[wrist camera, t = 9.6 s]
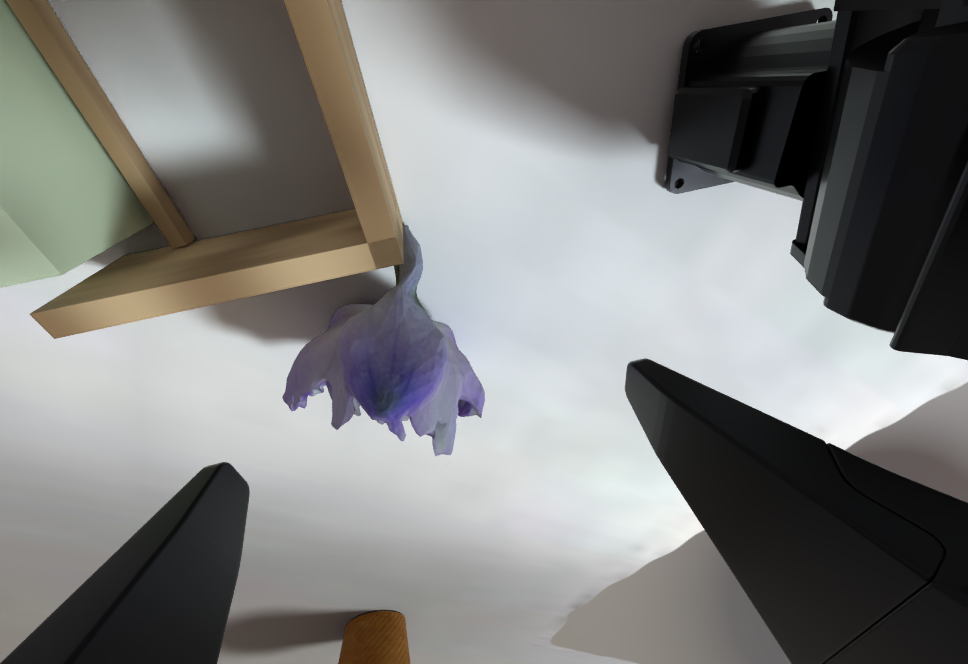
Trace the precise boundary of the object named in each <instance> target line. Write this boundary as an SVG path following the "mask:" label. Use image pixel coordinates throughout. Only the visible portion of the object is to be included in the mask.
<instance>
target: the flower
mask: <svg viewBox="0 0 968 664" xmlns="http://www.w3.org/2000/svg"><path fill="white" fill-rule="evenodd" d="M403 253H404V264H399V265H394V269H395V274H396V286H395V287H394V288H392V289H391V290H389V291H388V292H387V293H386V294H385V295H384V296H383V297H382V298H381V299H380V300H379V301H378V302H377V303H376V304H374V305H370V304H348V305H345V306H343V307H340V308H339V309H338V310H337V311H336V312H335V313H334V315H333V316H332V318H331V320H330V322H329V326H328V330H327V331H326V332H325V333H323V334H322V335H320V336H318V337H316V338H315V339H313V340H312V341H310V342H309V343H308V344H306V345H305V347H304V348H303V349H302V350H301V351H300V352H299V354H298V356H297V358H296V359H295V361H294V363H293V366H292V368H291V370H290V373H289V375H288V377H287V383H286V391H285V393H284V395H283V397H282V398H283V400H284V402H285V403H286V404H287V405H288V406H289V408H290V410H291V411H295V410H296V409H297V408H298V407H299V406H300V407H302V408H305V407H306V405H307V397H308V395H310V396H314V395H316V394H319V393H322V392H323V391H324V389H323V386H325V385H327V388H328V391H329V393H330V396H331V399H332V423H331V424H332V426H333V427H334V428H335V429H337V430H338V429H339V428H340V427H341V426H342V425H343V424H345V423H346V422H348V421H349V420H350V419H351V417H352V416H353V414H355V415H357V416H360V415H361V413H360V408H359V407H360V405H361V406H362V408H363V409H364V410H365V411H366V413H367V414H368V415H369V416H370V417H371V419H372V420H377V422H378V423H380V424H384V423H387V425H388V427H389V430H390V431H391V432H393V433H394V434H396V435H397V436H398V438H399V439H400V440H401V441H404V439H405V436H406V434H405V431H404V428H403V424H402V421H407V420H408V419H409V418H410V421H411V424H412V427H413V428H414V430H415V432H416V433H417V434H418V435H419V436H420V437H421V436H423V435H425V434H426V435H429V436H431V437H432V438H433V441H432V443H433V449H434V453H435V456H437V455H440V454H446V455H451V453H452V450H453V445H454V439H455V432H456V418H457V415H459V416H460V417H465V416H473V415H477V416H479V417H480V418H481V416H482V410H483V406H484V401H485V393H484V389H483V387H482V384H481V383H480V381H479V379H478V378H477V376H476V374H475V373H474V371H473V369H472V367H471V365H470V363H469V361H468V360H467V358H466V357H465V356H464V355H463V353H462V352H461V351H460V350H459V349H458V347H457V345H456V341H455V338H454V334H453V332H452V330H451V328H450V327H449V326H448V325H446V324H444V323H440V322H436V321H433V320H431V319H430V317H429V316H428V314H427V313H426V311H425V310H424V308H423V307H422V305H421V304H420V303H419V300H418V298H417V294H416V289H417V284H418V282H419V280H420V278H421V274H422V270H423V261H422V254H421V248H420V244H419V243H418V242H417V240H416V239H415V238H414V236H413V235H412V233H411V231H410V230H409V227H408V226H407V225H404V226H403ZM447 465H448V464H447Z"/></svg>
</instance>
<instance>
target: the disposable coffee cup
mask: <svg viewBox="0 0 968 664" xmlns="http://www.w3.org/2000/svg"><path fill="white" fill-rule="evenodd" d="M338 664H410V657H409V649H408V640H407V631H406V623H405V617H404V616H403V615H402V614H400V613H398V612H393V611H377V612H372V613H366V614H364V615H361V616H359V617H357V618H355V619H353V620H351V621H350V622H349V623H348V624H347V625H346V628H345V633H344V638H343V643H342V648H341V653H340V658H339V663H338Z"/></svg>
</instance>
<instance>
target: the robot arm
mask: <svg viewBox="0 0 968 664" xmlns="http://www.w3.org/2000/svg"><path fill="white" fill-rule="evenodd" d="M834 11H838V13H837V19H836V20H835V21H832V16H833V15H832V11H831V10H830V8H822V9H816V10H811V11H805V12H800V13H794V14H789V15H783V16H777V17H772V18H766V19H761V20H755V21H750V22H744V23H739V24H733V25H727V26H722V27H716V28H711V29H705V30H700V31H695V32H693V33H691V34H690V35H689V36H688V37H687V39H686V41H685V43H684V46H683V52H682V60H681V67H680V75H679V83H678V90H677V94H676V96H675V103H674V111H673V118H672V126H671V134H670V142H669V149H668V154H669V159H668V167H667V174H666V182H665V187H666V189H667V191H669V192H671V193H674V194H679V193H684V192H688V191H693V190H698V189H702V188H707V187H712V186H716V185H721V184H726V183H730V182H739V183H742V184H746V185H749V186H753V187H756V188H759V189H763V190H766V191H770V192H773V193H777V194H780V195H784V196H787V197H791V198H794V199H798V200H801V201H803V203H802V209H801V214H800V220H799V225H798V230H797V236H796V239H795V240H793V241H792V246H791V252H790V254H791V255H792V256H793V257H794V258H795V259H796V260H797V261H798V262H799V263H800V264H801V265H802V266H803V267H804V268H805V273H806V279H807V280H808V281H809V282H810V283H811V284H812V285H813V286H814V287H815V288H816V290H817V291H818V292H819V293H820V294H821V295H823V296H824V297H825V298H824V305H825V306H826V307H827V308H828V309H830V310H832V311H834V312H836V313H838V314H840V315H842V316H844V317H846V318H848V319H850V320H852V321H854V322H857V323H860V324H863V325H866V326H869V327H871V328H874V329H877V330H881V331H885V332H890V333H894V336H893V338H892V340H891V343H890V347H891V348H893V349H894V350H897V351H903V352H913V353H923V354H933V355H943V356H950V357H955V358H960V359H965V360H968V0H835V6H834ZM817 20H818V23H816V22H817ZM697 40H699V41H700V46H699V49H698V50H697V52H696V51H695V43H696V42H697ZM677 179H679V183H678V184H677V186H675V182H676V181H677ZM625 392H626V395H627V398H628V400H629V402H630V404H631V406H632V408H633V410H634V412H635V414H636V416H637V418H638V420H639V422H640V424H641V426H642V428H643V430H644V432H645V434H646V436H647V438H648V440H649V442H650V444H651V446H652V447H653V449H654V451H655V453H656V455H657V457H658V458H659V460H660V461H661V463H662V465H663V466H664V468H665V469H666V471H667V472H668V474H669V475H670V477H671V479H672V480H673V482H674V483H675V485H676V486H677V488H678V489H679V491H680V492H681V494H682V496H683V497H684V499H685V500H686V502H687V503H688V505H689V506H690V508H691V509H692V511H693V512H694V514H695V516H696V517H697V519H698V520H699V522H700V523H701V525H702V526H703V528H704V529H705V531H706V532H707V534H708V535H709V537H710V539H711V540H712V542H713V543H714V545H715V546H716V548H717V550H718V551H719V553H720V554H721V556H722V557H723V559H724V560H725V562H726V563H727V565H728V566H729V568H730V569H731V571H732V573H733V574H734V576H735V577H736V579H737V580H738V582H739V583H740V585H741V587H742V588H743V589H744V591H745V593H746V594H747V596H748V597H749V599H750V600H751V602H752V603H753V605H754V607H755V608H756V610H757V611H758V613H759V614H760V616H761V617H762V619H763V620H764V622H765V624H766V625H767V627H768V628H769V630H770V631H771V633H772V634H773V636H774V637H775V639H776V640H777V642H778V644H779V645H780V647H781V648H782V650H783V651H784V653H785V654H786V656H787V658H788V659H789V661H790V662H791V664H968V503H967V502H965V501H962V500H960V499H957V498H955V497H952V496H950V495H947V494H944V493H942V492H940V491H937V490H935V489H932V488H930V487H928V486H925V485H923V484H920V483H918V482H916V481H913V480H911V479H908V478H906V477H904V476H901V475H899V474H896V473H894V472H892V471H890V470H887V469H885V468H883V467H880V466H878V465H876V464H874V463H872V462H869V461H867V460H865V459H863V458H861V457H858V456H856V455H854V454H852V453H849V452H847V451H845V450H843V449H841V448H839V447H837V446H835V445H832V444H830V443H828V444H826V443H825V441H823V440H821V439H819V438H817V437H815V436H813V435H811V434H808V433H806V432H804V431H802V430H800V429H798V428H796V427H793V426H791V425H789V424H787V423H785V422H783V421H781V420H778V419H776V418H774V417H772V416H770V415H768V414H765V413H763V412H761V411H759V410H757V409H755V408H753V407H750V406H748V405H746V404H744V403H742V402H740V401H738V400H735V399H733V398H731V397H729V396H727V395H725V394H723V393H720V392H718V391H716V390H714V389H712V388H710V387H707V386H705V385H703V384H701V383H699V382H697V381H695V380H692V379H690V378H688V377H686V376H684V375H682V374H680V373H677V372H675V371H673V370H671V369H669V368H667V367H665V366H662V365H660V364H658V363H656V362H654V361H652V360H649V359H640V360H636V361H632V362H630V363H629V364H628V365H627V373H626V382H625ZM249 494H250V492H249V486H248V484H247V482H246V481H245V480H244V479H243V477H242V476H241V475H240V474H239V473H238V472H237V471H236V470H235V468H234V467H233V466H232V465H231V464H229V463H227V462H222V463H218V464H214V465H210V466H207V467H205V468H203V469H202V470H201V471H200V472H199V473H198V474H197V475H196V476H194V477H193V478H192V479H191V480H190V481H189V482H188V483H187V484H186V485H185V486H184V487H183V488H182V489H181V490H180V491H179V492H178V493H177V494H176V495H175V496H174V497H173V498H172V499H171V500H170V501H168V502H167V503H166V504H165V505H164V506H163V507H162V508H161V509H160V510H159V511H158V512H157V513H156V514H155V515H154V516H153V517H152V518H151V519H150V520H149V521H148V522H147V523H146V524H145V525H144V526H143V527H141V528H140V529H139V530H138V531H137V532H136V533H135V534H134V535H133V536H132V537H131V538H130V539H129V540H128V541H127V542H126V543H125V544H124V545H123V546H122V547H121V548H120V549H119V550H118V551H117V552H115V553H114V554H113V555H112V556H111V557H110V558H109V559H108V560H107V561H106V562H105V563H104V564H103V565H102V566H101V567H100V568H99V569H98V570H97V571H96V572H95V573H94V574H93V575H92V576H91V577H89V578H88V579H87V580H86V581H85V582H84V583H83V584H82V585H81V586H80V587H79V588H78V589H77V590H76V591H75V592H74V593H73V594H72V595H71V596H70V597H69V598H68V599H67V600H66V601H65V602H63V603H62V604H61V605H60V606H59V607H58V608H57V609H56V610H55V611H54V612H53V613H52V614H51V615H50V616H49V617H48V618H47V619H46V620H45V621H44V622H43V623H42V624H41V625H40V626H39V627H37V628H36V629H35V630H34V631H33V632H32V633H31V634H30V635H29V636H28V637H27V638H26V639H25V640H24V641H23V642H22V643H21V644H20V645H19V646H18V647H17V648H16V649H15V650H14V651H13V652H11V653H10V654H9V655H8V656H7V657H6V658H5V659H4V660H3V661H2V662H1V663H0V664H217V661H218V657H219V653H220V649H221V645H222V640H223V636H224V632H225V628H226V623H227V619H228V615H229V611H230V607H231V602H232V598H233V594H234V590H235V585H236V581H237V577H238V572H239V567H240V561H241V555H242V548H243V541H244V533H245V525H246V518H247V510H248V502H249Z"/></svg>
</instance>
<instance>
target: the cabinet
mask: <svg viewBox="0 0 968 664" xmlns="http://www.w3.org/2000/svg"><path fill="white" fill-rule="evenodd" d="M6 1H7V3H8V4H9V6H10V7H11V9H12V10H13V12H14V13H15V15H16V16H17V18H18V19H19V21H20V22H21V24H22V25H23V27H24V28H25V30H26V31H27V33H28V34H29V36H30V37H31V39H32V40H33V42H34V43H35V45H36V46H37V48H38V49H39V51H40V52H41V54H42V55H43V56H44V58H45V59H46V61H47V62H48V64H49V65H50V67H51V68H52V70H53V71H54V73H55V74H56V76H57V77H58V79H59V80H60V82H61V83H62V85H63V86H64V88H65V89H66V91H67V92H68V94H69V95H70V97H71V98H72V100H73V101H74V103H75V104H76V106H77V107H78V109H79V110H80V112H81V113H82V115H83V116H84V118H85V119H86V121H87V122H88V124H89V125H90V127H91V128H92V130H93V131H94V133H95V134H96V135H97V137H98V138H99V140H100V141H101V143H102V144H103V146H104V147H105V149H106V150H107V152H108V153H109V155H110V156H111V158H112V159H113V161H114V162H115V164H116V165H117V167H118V168H119V170H120V171H121V173H122V174H123V176H124V177H125V179H126V180H127V182H128V183H129V185H130V186H131V188H132V189H133V191H134V192H135V194H136V195H137V197H138V198H139V200H140V201H141V203H142V204H143V206H144V207H145V209H146V210H147V212H148V213H149V214H150V216H151V217H152V219H153V220H154V222H155V223H156V225H157V226H158V228H159V229H160V231H161V232H162V234H163V235H164V237H165V238H166V240H167V241H168V243H169V244H170V246H169V247H164V248H159V249H154V250H149V251H144V252H139V253H134V254H130V255H125V256H122V257H121V258H119V259H117V260H116V261H114V262H112V263H111V264H109V265H108V266H106V267H104V268H103V269H101V270H100V271H98V272H96V273H95V274H93V275H92V276H90V277H88V278H87V279H85V280H84V281H82V282H80V283H79V284H77V285H76V286H74V287H72V288H71V289H69V290H67V291H66V292H64V293H63V294H61V295H59V296H58V297H56V298H55V299H53V300H51V301H50V302H48V303H47V304H45V305H43V306H42V307H40V308H39V309H37V310H35V311H34V312H32V313H31V314H30V315H31V316H32V317H33V318H34V319H35V320H36V321H37V322H38V323H39V324H40V325H41V326H42V327H43V328H44V329H45V330H46V331H47V332H48V333H49V334H50V335H51V336H52V337H53V338H54V339H56V338H61V337H65V336H70V335H74V334H79V333H84V332H88V331H93V330H98V329H102V328H107V327H112V326H116V325H121V324H125V323H130V322H135V321H139V320H144V319H149V318H153V317H158V316H162V315H167V314H172V313H176V312H181V311H186V310H190V309H195V308H200V307H204V306H209V305H213V304H218V303H223V302H227V301H232V300H237V299H241V298H246V297H251V296H255V295H260V294H264V293H269V292H274V291H278V290H283V289H288V288H292V287H297V286H302V285H306V284H311V283H315V282H320V281H325V280H329V279H334V278H339V277H343V276H348V275H353V274H357V273H362V272H366V271H371V270H376V269H380V268H385V267H390V266H394V265H399V264H404V253H403V221H402V218H401V214H400V210H399V207H398V203H397V200H396V196H395V192H394V189H393V185H392V182H391V178H390V174H389V171H388V167H387V164H386V160H385V156H384V153H383V149H382V146H381V142H380V138H379V135H378V131H377V128H376V124H375V120H374V117H373V113H372V110H371V106H370V102H369V99H368V95H367V92H366V88H365V84H364V81H363V77H362V73H361V70H360V66H359V63H358V59H357V55H356V52H355V48H354V45H353V41H352V37H351V34H350V30H349V27H348V23H347V19H346V16H345V12H344V9H343V5H342V1H341V0H284V3H285V6H286V9H287V12H288V15H289V17H290V20H291V23H292V26H293V29H294V32H295V35H296V38H297V41H298V44H299V46H300V49H301V52H302V55H303V58H304V61H305V64H306V67H307V70H308V72H309V75H310V78H311V81H312V84H313V87H314V90H315V93H316V96H317V99H318V101H319V104H320V107H321V110H322V113H323V116H324V119H325V122H326V125H327V128H328V130H329V133H330V136H331V139H332V142H333V145H334V148H335V151H336V154H337V157H338V159H339V162H340V165H341V168H342V171H343V174H344V177H345V180H346V183H347V186H348V188H349V191H350V194H351V197H352V200H353V203H354V206H355V209H351V210H346V211H341V212H336V213H332V214H327V215H322V216H317V217H312V218H307V219H302V220H297V221H292V222H287V223H282V224H277V225H272V226H268V227H263V228H258V229H253V230H248V231H243V232H238V233H233V234H228V235H223V236H218V237H213V238H208V239H203V240H199V241H194V242H192V241H193V240H194V239H195V237H194V236H193V234H192V233H191V231H190V229H189V228H188V226H187V224H186V223H185V221H184V220H183V218H182V216H181V215H180V213H179V212H178V210H177V208H176V207H175V205H174V204H173V202H172V200H171V199H170V197H169V196H168V194H167V192H166V191H165V189H164V188H163V186H162V184H161V183H160V181H159V180H158V178H157V176H156V175H155V173H154V171H153V170H152V168H151V167H150V165H149V163H148V162H147V160H146V159H145V157H144V155H143V154H142V152H141V151H140V149H139V147H138V146H137V144H136V143H135V141H134V139H133V138H132V136H131V135H130V133H129V131H128V130H127V128H126V127H125V125H124V123H123V122H122V120H121V119H120V117H119V115H118V114H117V112H116V110H115V109H114V107H113V106H112V104H111V102H110V101H109V99H108V98H107V96H106V94H105V93H104V91H103V90H102V88H101V86H100V85H99V83H98V82H97V80H96V78H95V77H94V75H93V74H92V72H91V70H90V69H89V67H88V66H87V64H86V62H85V61H84V59H83V57H82V56H81V54H80V53H79V51H78V49H77V48H76V46H75V45H74V43H73V41H72V40H71V38H70V37H69V35H68V33H67V32H66V30H65V29H64V27H63V25H62V24H61V22H60V21H59V19H58V17H57V16H56V14H55V13H54V11H53V9H52V8H51V6H50V4H49V3H48V1H47V0H6Z"/></svg>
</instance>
